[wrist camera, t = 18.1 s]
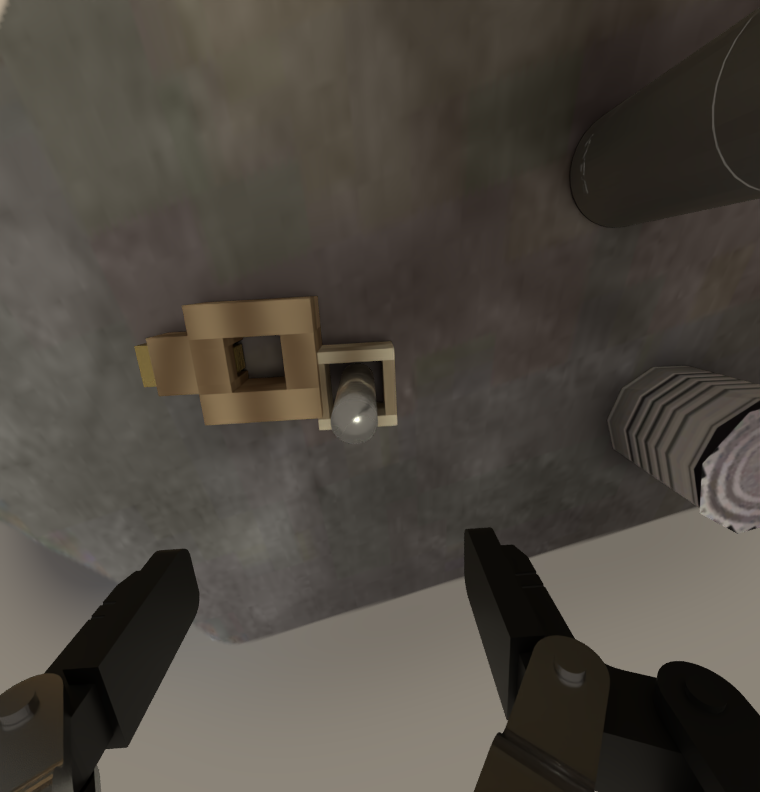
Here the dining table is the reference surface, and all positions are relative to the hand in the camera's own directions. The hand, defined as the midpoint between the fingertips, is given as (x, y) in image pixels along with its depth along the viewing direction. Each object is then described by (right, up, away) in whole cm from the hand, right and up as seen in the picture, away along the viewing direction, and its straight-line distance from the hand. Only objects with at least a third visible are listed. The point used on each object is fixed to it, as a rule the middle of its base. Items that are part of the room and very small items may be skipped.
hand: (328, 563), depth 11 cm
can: (+30, +3, +29) cm, 42 cm away
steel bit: (-1, +7, +26) cm, 27 cm away
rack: (-1, +7, +26) cm, 27 cm away
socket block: (-11, +9, +25) cm, 29 cm away
